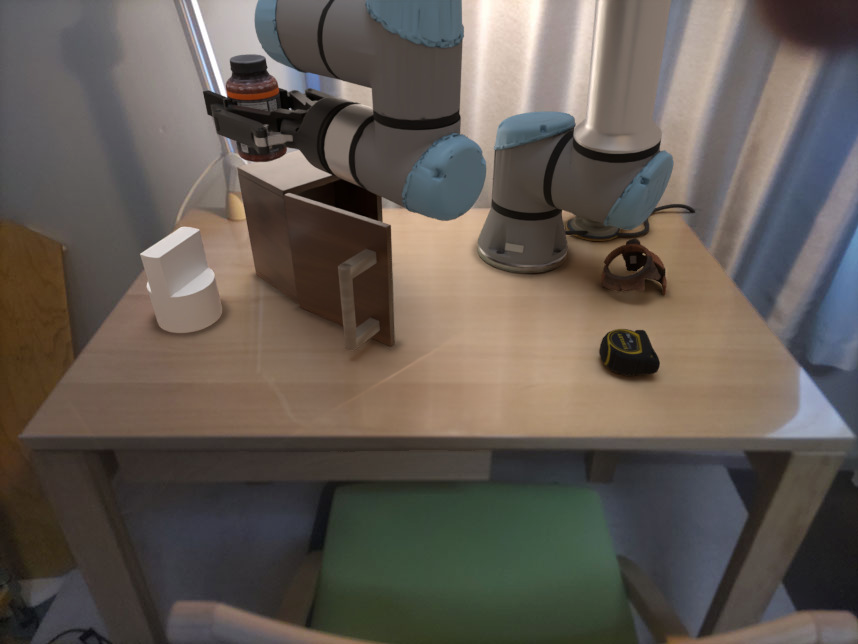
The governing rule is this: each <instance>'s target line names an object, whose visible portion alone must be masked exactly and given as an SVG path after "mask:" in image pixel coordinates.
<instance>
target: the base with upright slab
mask: <svg viewBox="0 0 858 644" xmlns="http://www.w3.org/2000/svg"><path fill="white" fill-rule="evenodd" d="M139 256H140V259H141V262H142V266H143V268H144V269H143V270H144V272H145V275H146V279H147V282H146V290H147V293H148V296H149V299H150V302H151V305H152V309H153V313H154V315H155V319H156V323H157V325H158V326H159V327H160V329H162V330H163V331H166V332H169V333H173V334H189V333H193V332H198V331H201V330H205V329H206V328H208V327H211V326H212V325H213V324H215V323H216V322H218V320H219V319H220V318H221V317H222V314H223V312H224V311H223V306H222V302H221V296H220V291H219V288H218V287H219V286H218V283H217V279H216V274H215V272H214V271H213V269H212V268H210V267H209V263H208V259H207V254H206V250H205V245H204V241H203V238H202V233H201V229H199V228H195V227H193V226H181V227H179V228H177V229H176V230H174V231H172V232H171V233H169V234H168V235H166V236H165V237H163V238H162V239H161V240H158V241H157V242H156V243H154V244H153V245H151V246H149V247H148V248H147V249H145V250H144V251H142V252H141V253H139Z"/></svg>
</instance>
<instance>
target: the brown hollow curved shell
mask: <svg viewBox="0 0 858 644" xmlns="http://www.w3.org/2000/svg"><path fill="white" fill-rule="evenodd" d="M619 256H622V259H623V261H624V265H625V270H626V272H634V273H632V274H629V275H618V274H615V273H613V272H611V270H610V268H609V267H610V265H611V263H612V262H613V261H614V260H615V259H617V257H619ZM603 263H604V267H603V271H602V273H601V278H600V279H601V286H602V288H607V289H609V290H612V291H615V292H617V293H621V292H622V291H623V292H631V291H639V292H642V293H645V292H646V291H645V280H649V281H655V282H657V283H659V284H660V285H661V289H662V295H663V296H664V295H666V294H667V286H668V280H667V277H666V268H665V265H664V262H663V261H662V259H661V258H660V257H659V256H658V255H657V254H656V253H655V252H653V251H651V250H649V248H647V247H646V246H644V245H642V244H641V241H640V240H639V238H637V237H636V238H635V237H632V238H630V239H628V240H627V241H626V242H625V244H623V245H620V246H618V247H615V249H613V250H612V251H611V252H609V253H608V254H607V255H606V257H605V259H604V261H603Z"/></svg>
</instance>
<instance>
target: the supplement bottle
mask: <svg viewBox="0 0 858 644" xmlns="http://www.w3.org/2000/svg"><path fill="white" fill-rule="evenodd" d="M229 66H230V71H231V76H230V77H229V78H228V79H227V80H226V82H225V91H226V97H227V98H232V99H233V100H235V101H237V104H238V106H243V107H249V108H255V109H260V110H266V111H274V110H277V109H280V108H281V101H280V94H279V88H280V87H279V83H278V80H277V78H276V77H275V76H273V75H272V74H270V72H269V71H268V64H267V59H266V56H264V55H261V54H256V53H254V54H253V53H252V54H251V53H250V54H249V53H248V54H239V55H234V56H231V57H230V59H229ZM281 109H282V108H281ZM235 145H236V149H237V153H238V156H239V157H240V158H241V159H242V160H244V161H247V162H250V163H254V162H269V161H273V160H276V159H278V158H280V157H282V156H284V155H285V154H286V153H288V152H287V151H288V148H287V147H285V146H284V145H283V144H277V145H272V148H271V149H270V153H269V154H266V155H263V154H259V153H258V152H257V151H256V150H255V149H254V148H252V147H249V146H247V145H244V144H242V143H239V142H237V141H235Z"/></svg>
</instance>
